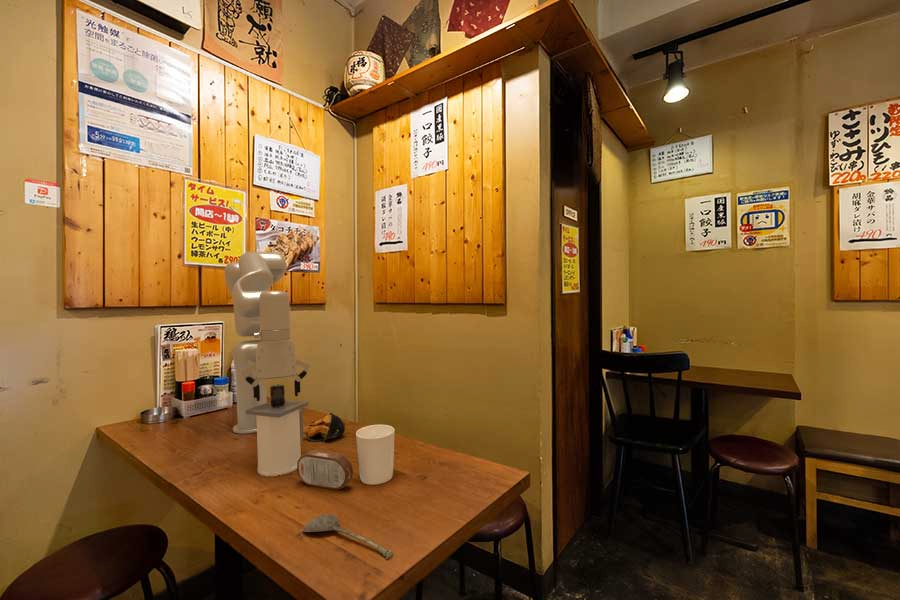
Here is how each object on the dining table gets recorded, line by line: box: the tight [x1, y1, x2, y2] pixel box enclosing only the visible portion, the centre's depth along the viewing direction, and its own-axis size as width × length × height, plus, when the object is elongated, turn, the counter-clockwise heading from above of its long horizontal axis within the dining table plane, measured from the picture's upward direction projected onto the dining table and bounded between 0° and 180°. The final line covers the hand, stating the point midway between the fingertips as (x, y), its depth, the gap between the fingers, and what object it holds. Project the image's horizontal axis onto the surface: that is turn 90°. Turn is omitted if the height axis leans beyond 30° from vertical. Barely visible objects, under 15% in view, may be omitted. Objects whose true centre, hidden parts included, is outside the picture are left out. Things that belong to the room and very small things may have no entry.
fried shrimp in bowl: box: [303, 412, 346, 442], centre depth 126 cm, size 9×11×18 cm
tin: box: [296, 449, 354, 491], centre depth 96 cm, size 15×3×8 cm, turn 71°
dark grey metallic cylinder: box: [269, 384, 286, 408], centre depth 107 cm, size 8×8×17 cm
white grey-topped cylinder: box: [246, 399, 309, 477], centre depth 108 cm, size 14×11×17 cm
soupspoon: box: [301, 513, 394, 561], centre depth 75 cm, size 22×3×7 cm
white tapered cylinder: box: [355, 424, 396, 486], centre depth 100 cm, size 10×10×12 cm
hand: (277, 397), depth 107 cm, fingers open, 9 cm apart
